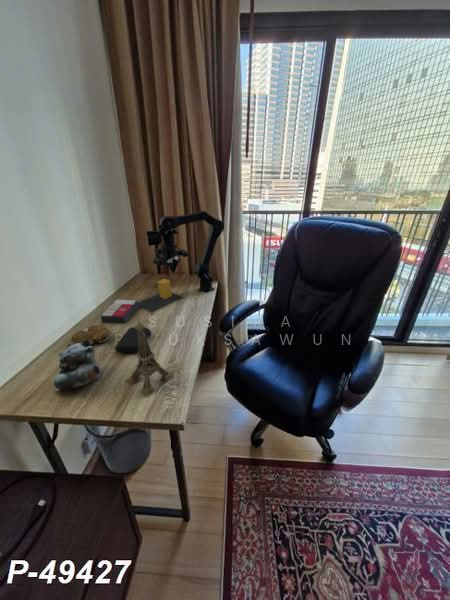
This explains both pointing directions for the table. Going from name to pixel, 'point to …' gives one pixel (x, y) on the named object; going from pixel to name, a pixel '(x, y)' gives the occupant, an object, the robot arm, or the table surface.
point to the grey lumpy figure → (76, 367)
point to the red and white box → (119, 311)
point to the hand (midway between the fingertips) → (173, 272)
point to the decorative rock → (91, 334)
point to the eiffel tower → (146, 363)
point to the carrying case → (131, 340)
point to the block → (164, 288)
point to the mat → (157, 302)
